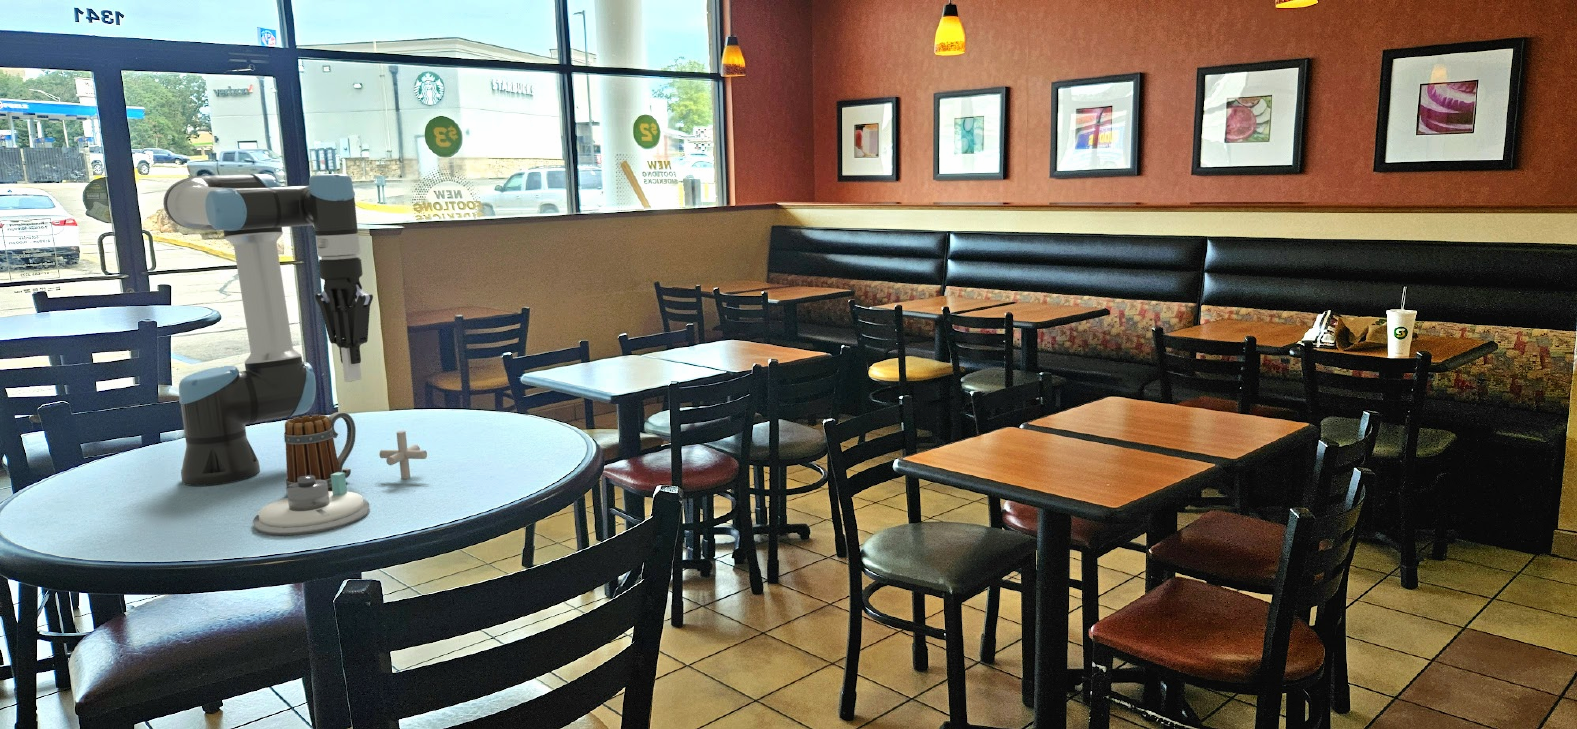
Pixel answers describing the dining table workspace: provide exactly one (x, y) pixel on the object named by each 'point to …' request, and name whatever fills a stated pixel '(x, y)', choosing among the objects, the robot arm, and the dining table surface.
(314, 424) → the mug
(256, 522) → the turntable base
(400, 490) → the dining table surface
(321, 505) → the cover
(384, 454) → the pipe connector
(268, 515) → the turntable
